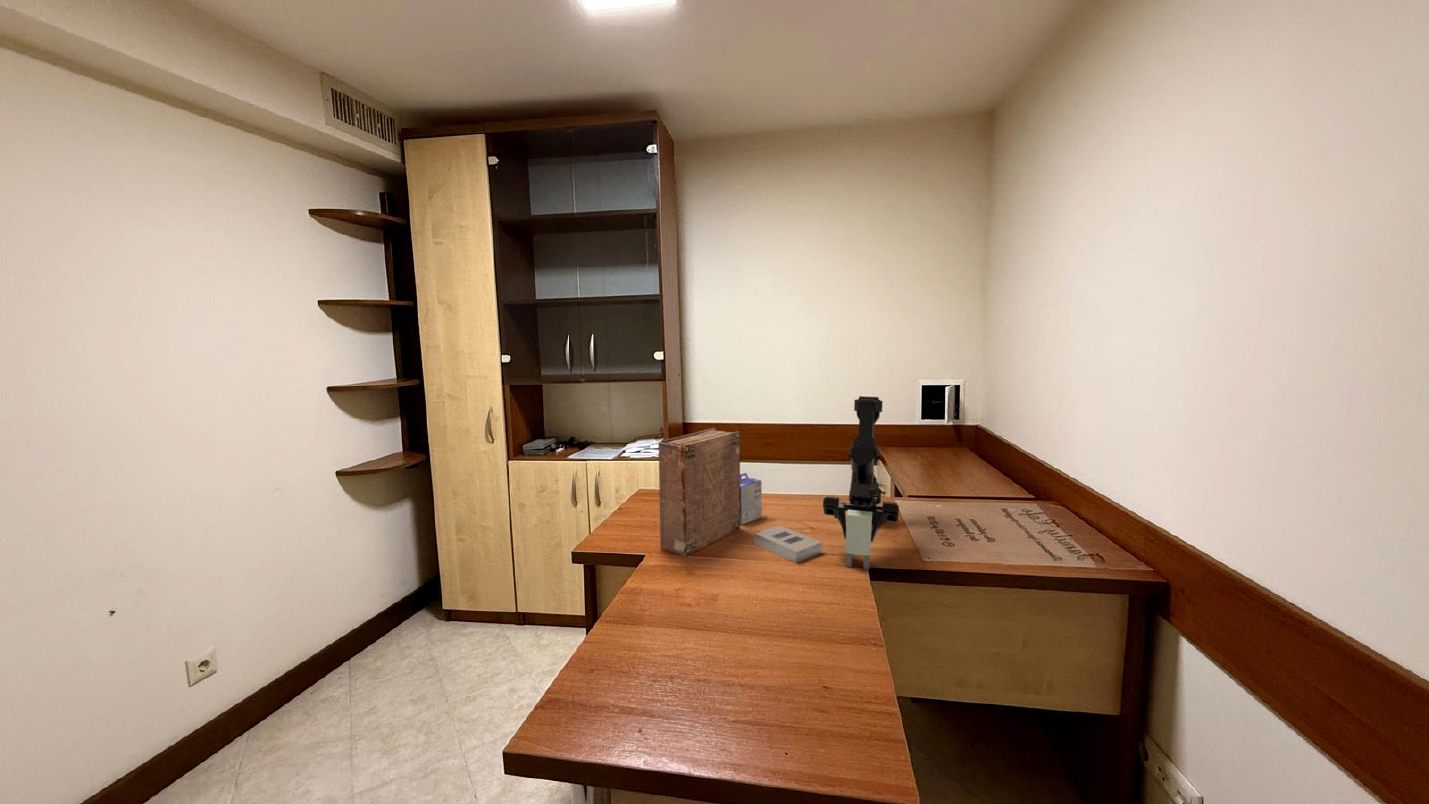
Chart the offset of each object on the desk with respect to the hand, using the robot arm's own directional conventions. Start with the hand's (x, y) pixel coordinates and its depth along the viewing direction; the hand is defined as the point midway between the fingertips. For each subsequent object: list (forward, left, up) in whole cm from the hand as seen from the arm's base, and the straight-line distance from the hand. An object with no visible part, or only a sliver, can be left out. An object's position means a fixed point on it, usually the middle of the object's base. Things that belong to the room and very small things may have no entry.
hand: (858, 539), depth 133 cm
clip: (-1, -1, -7) cm, 7 cm away
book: (+36, -25, -7) cm, 44 cm away
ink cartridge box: (+20, -38, -7) cm, 44 cm away
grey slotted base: (+14, -14, -7) cm, 21 cm away
